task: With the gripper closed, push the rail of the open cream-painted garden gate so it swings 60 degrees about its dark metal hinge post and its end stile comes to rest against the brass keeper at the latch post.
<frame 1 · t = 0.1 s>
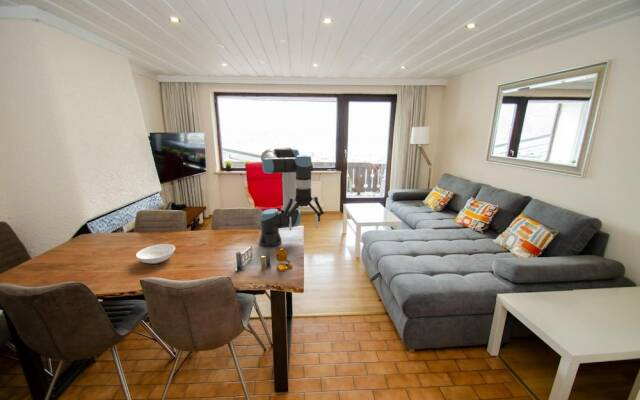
hand: (303, 228, 133), 28 cm above the table, fingers open, 13 cm apart
figurine: (283, 268, 151), on the table
bowl: (157, 261, 156), on the table
gate: (246, 256, 154), point 4 cm above the table, hinge at 60.0°
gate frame: (239, 269, 148), on the table
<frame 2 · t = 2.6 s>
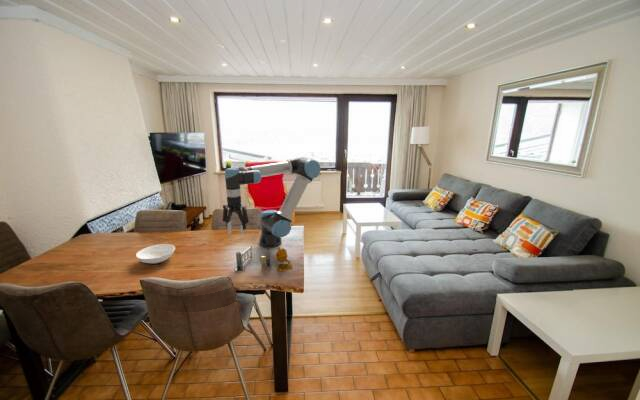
hand: (236, 233, 153), 17 cm above the table, fingers open, 8 cm apart
nothing on the table moved.
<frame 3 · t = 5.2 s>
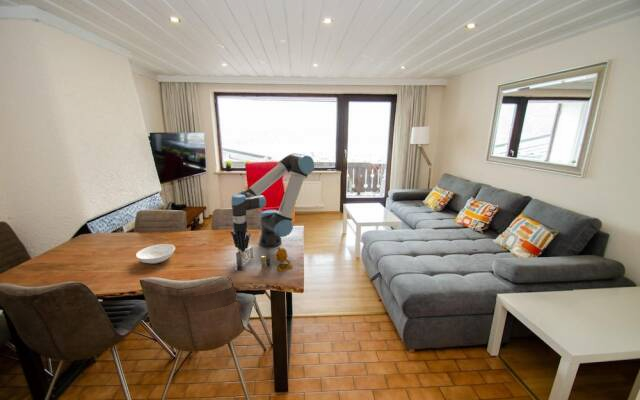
hand: (242, 258, 157), 1 cm above the table, fingers closed
gate: (246, 256, 154), point 4 cm above the table, hinge at 58.4°, touching gripper
everything else where it was.
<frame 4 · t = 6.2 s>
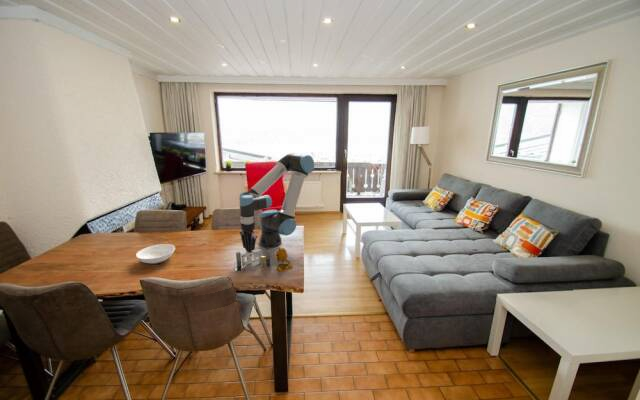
hand: (249, 259, 155), 2 cm above the table, fingers closed
gate: (252, 258, 152), point 4 cm above the table, hinge at 26.0°, touching gripper
everything else where it was.
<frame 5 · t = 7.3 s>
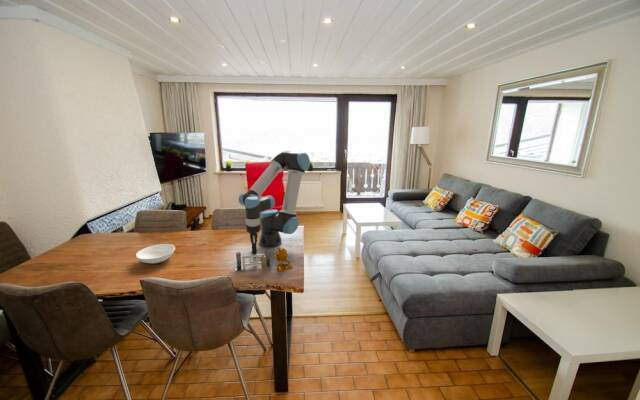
hand: (254, 262, 153), 2 cm above the table, fingers closed
gate: (253, 261, 149), point 4 cm above the table, hinge at -0.9°, touching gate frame, gripper
everything else where it was.
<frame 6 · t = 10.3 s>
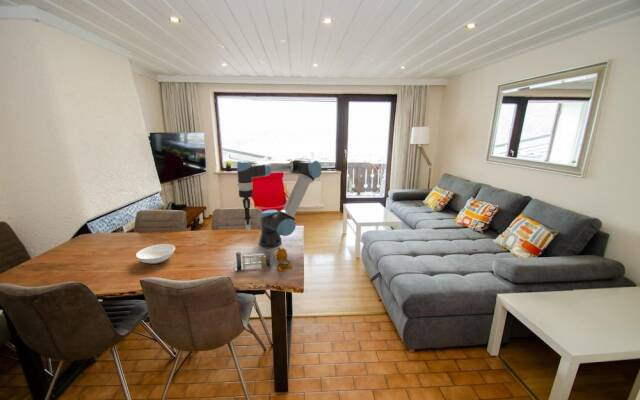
hand: (248, 229, 152), 20 cm above the table, fingers closed
gate: (253, 261, 149), point 4 cm above the table, hinge at -0.9°, touching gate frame
everything else where it was.
at the end: gate at -1° (first picture: +60°) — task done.
